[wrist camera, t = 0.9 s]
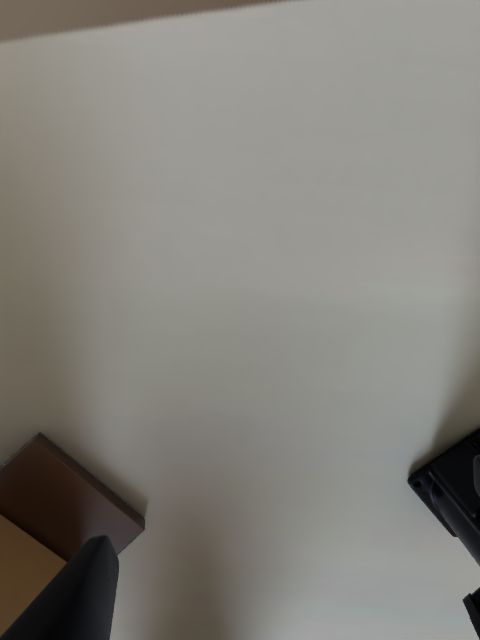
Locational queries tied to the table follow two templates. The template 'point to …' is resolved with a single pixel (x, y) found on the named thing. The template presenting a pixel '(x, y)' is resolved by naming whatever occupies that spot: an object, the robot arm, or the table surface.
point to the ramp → (62, 501)
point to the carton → (22, 571)
